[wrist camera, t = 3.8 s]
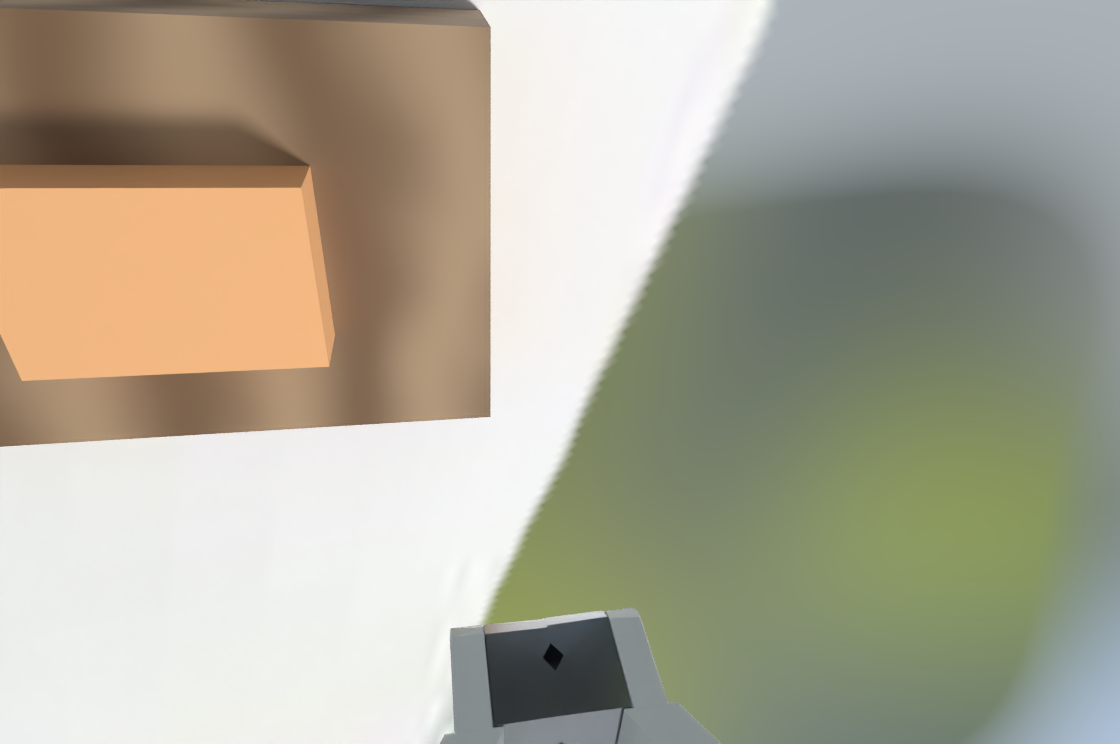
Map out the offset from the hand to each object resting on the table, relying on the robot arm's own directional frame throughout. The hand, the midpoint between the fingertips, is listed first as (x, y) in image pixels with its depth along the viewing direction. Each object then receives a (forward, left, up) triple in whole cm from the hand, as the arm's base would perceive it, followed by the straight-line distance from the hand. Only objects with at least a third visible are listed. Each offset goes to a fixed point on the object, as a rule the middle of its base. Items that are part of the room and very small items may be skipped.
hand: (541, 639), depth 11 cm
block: (+5, +8, -15) cm, 18 cm away
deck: (+5, +9, -19) cm, 22 cm away
